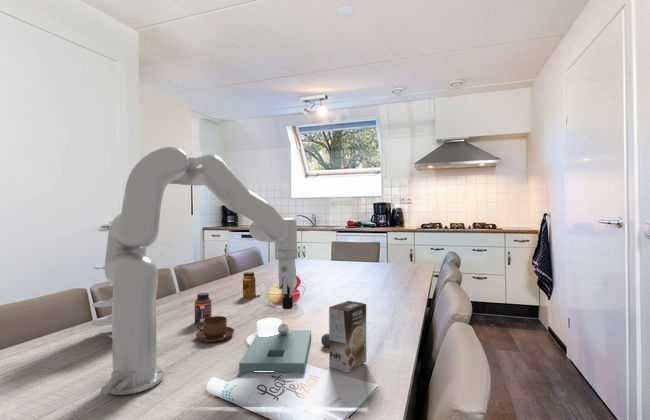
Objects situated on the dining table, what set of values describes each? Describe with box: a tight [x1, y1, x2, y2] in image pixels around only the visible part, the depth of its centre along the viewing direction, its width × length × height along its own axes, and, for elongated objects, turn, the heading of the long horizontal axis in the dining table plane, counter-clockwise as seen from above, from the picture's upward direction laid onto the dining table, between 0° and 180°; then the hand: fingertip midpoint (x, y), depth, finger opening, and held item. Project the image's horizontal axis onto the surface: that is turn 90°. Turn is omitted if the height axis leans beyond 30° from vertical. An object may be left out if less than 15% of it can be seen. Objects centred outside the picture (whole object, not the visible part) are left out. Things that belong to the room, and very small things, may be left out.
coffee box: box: [328, 300, 367, 374], centre depth 92 cm, size 9×6×16 cm
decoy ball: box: [320, 333, 329, 348], centre depth 105 cm, size 4×4×4 cm
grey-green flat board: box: [238, 329, 312, 374], centre depth 100 cm, size 24×17×2 cm
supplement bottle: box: [194, 292, 213, 326], centre depth 127 cm, size 6×6×11 cm
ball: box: [277, 323, 290, 335], centre depth 108 cm, size 3×3×3 cm
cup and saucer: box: [195, 315, 235, 343], centre depth 113 cm, size 12×12×6 cm
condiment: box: [242, 271, 261, 300], centre depth 166 cm, size 7×8×12 cm
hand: (287, 308), depth 115 cm, fingers closed
